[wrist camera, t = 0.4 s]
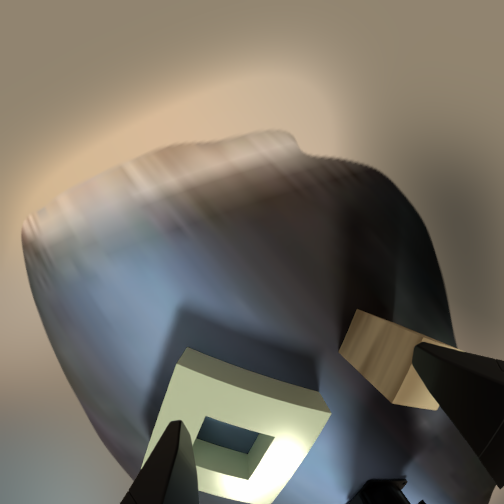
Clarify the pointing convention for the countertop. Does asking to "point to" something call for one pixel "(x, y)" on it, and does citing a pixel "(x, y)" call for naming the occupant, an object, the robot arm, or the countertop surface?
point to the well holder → (241, 425)
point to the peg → (388, 359)
